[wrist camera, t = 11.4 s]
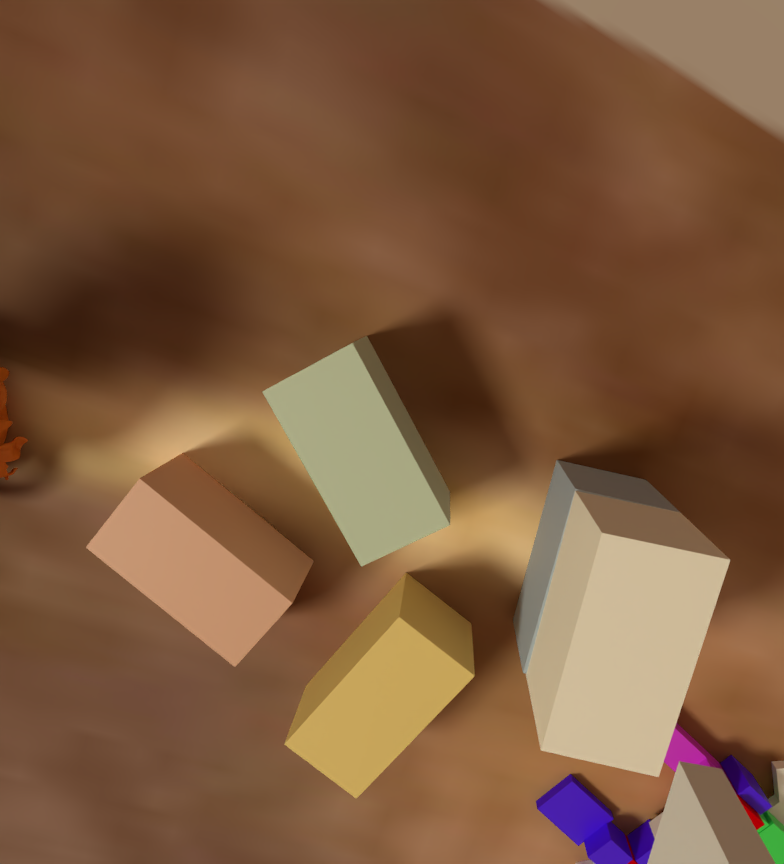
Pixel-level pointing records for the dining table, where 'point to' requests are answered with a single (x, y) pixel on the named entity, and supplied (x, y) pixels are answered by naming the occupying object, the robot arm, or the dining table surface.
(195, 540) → the terracotta brick
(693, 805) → the robot arm
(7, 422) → the orange lumpy upright piece
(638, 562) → the cream brick
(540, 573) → the slate brick
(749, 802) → the building block set
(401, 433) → the sage brick
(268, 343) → the dining table surface
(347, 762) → the ochre brick
